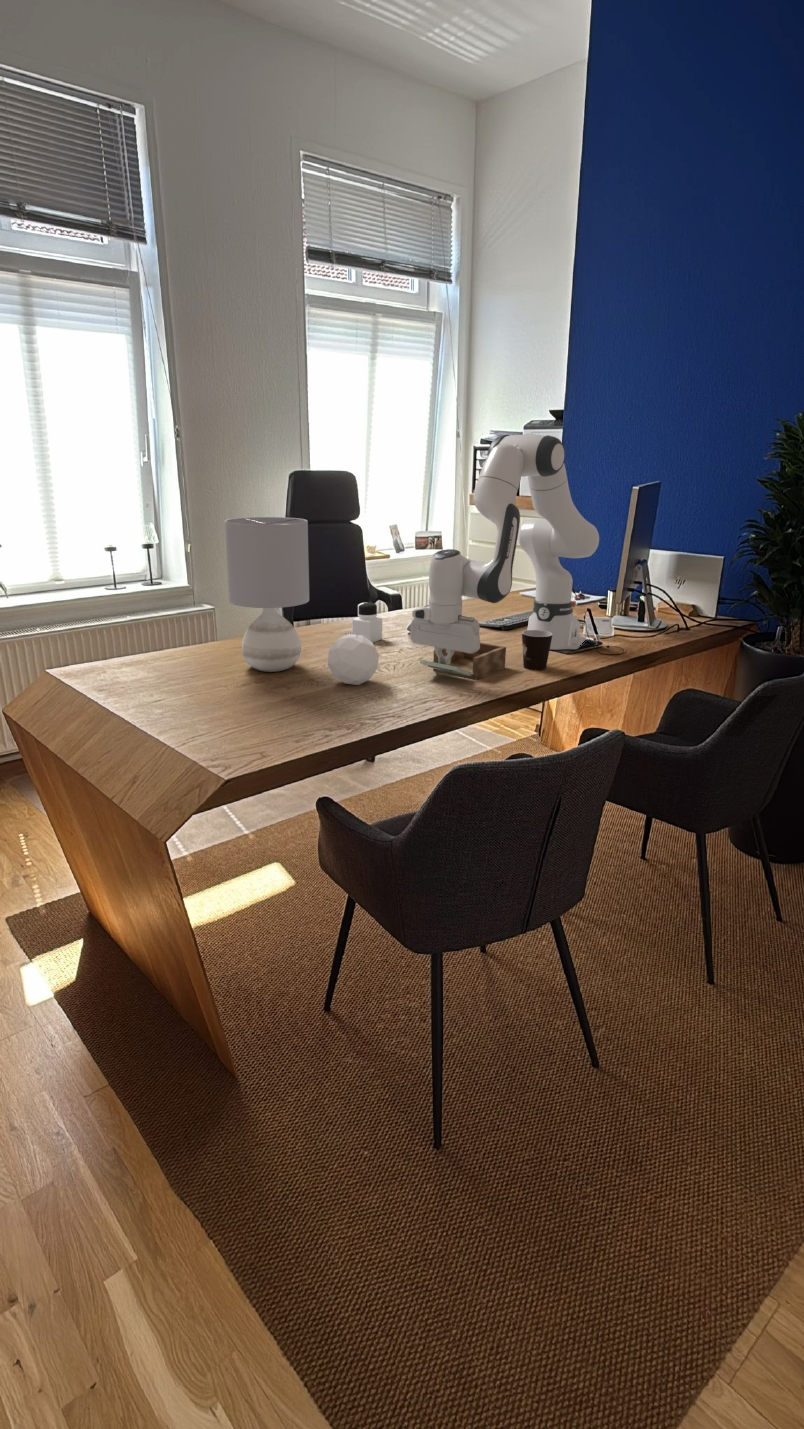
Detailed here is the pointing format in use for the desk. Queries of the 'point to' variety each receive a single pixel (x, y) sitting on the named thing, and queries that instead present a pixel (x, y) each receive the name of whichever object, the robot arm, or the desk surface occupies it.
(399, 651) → the desk surface
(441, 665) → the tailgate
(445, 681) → the desk surface
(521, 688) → the desk surface
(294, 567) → the lamp
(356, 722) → the desk surface
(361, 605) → the medicine bottle
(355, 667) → the geodesic sphere
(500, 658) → the crate
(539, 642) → the coffee mug
